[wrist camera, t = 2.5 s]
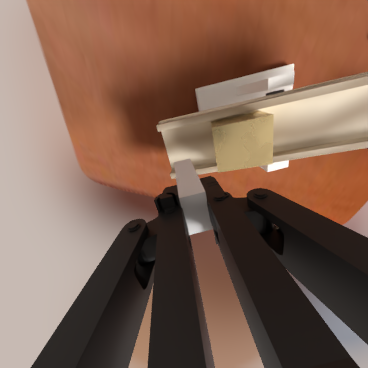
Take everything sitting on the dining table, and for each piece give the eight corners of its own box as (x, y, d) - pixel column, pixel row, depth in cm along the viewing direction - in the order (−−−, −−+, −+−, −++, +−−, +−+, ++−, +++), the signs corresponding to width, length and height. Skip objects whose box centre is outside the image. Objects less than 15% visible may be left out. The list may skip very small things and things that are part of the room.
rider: (210, 121, 21) (211, 127, 17) (259, 110, 20) (273, 114, 16) (215, 159, 23) (218, 172, 19) (260, 151, 22) (272, 164, 18)
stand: (195, 89, 27) (210, 80, 18) (289, 65, 27) (354, 43, 17) (208, 166, 33) (224, 190, 24) (284, 147, 33) (331, 163, 24)
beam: (165, 116, 26) (155, 122, 20) (402, 59, 19) (475, 45, 14) (178, 165, 29) (172, 181, 24) (380, 130, 23) (432, 140, 18)
